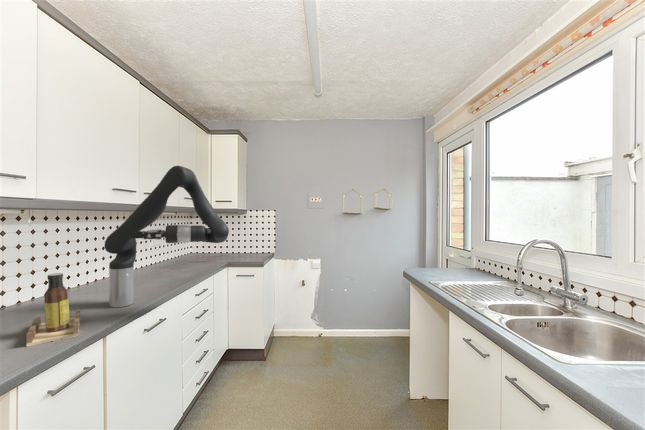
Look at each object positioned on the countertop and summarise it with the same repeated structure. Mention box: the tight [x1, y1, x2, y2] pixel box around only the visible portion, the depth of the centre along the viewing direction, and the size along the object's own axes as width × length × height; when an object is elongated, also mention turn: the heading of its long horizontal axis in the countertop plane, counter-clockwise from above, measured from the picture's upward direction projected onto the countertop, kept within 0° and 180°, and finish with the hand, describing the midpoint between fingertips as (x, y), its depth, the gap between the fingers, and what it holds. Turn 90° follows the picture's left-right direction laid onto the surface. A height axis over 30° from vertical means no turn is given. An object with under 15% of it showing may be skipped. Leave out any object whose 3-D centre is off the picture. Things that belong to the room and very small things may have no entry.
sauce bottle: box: [44, 272, 70, 332], centre depth 101 cm, size 6×6×20 cm
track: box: [26, 308, 81, 347], centre depth 102 cm, size 20×12×4 cm, turn 39°
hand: (133, 234), depth 113 cm, fingers open, 8 cm apart
